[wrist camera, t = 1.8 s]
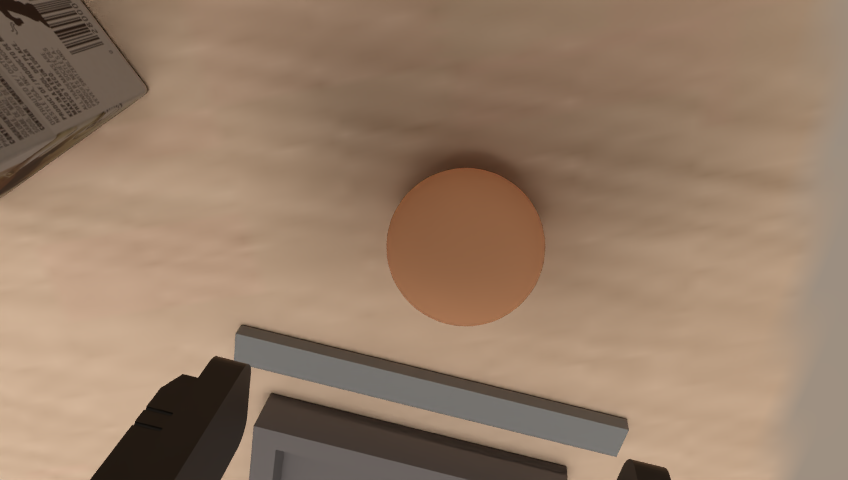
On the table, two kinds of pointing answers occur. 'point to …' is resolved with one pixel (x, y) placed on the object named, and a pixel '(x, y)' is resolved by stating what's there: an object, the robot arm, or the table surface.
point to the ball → (465, 246)
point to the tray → (372, 450)
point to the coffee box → (55, 83)
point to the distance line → (430, 391)
